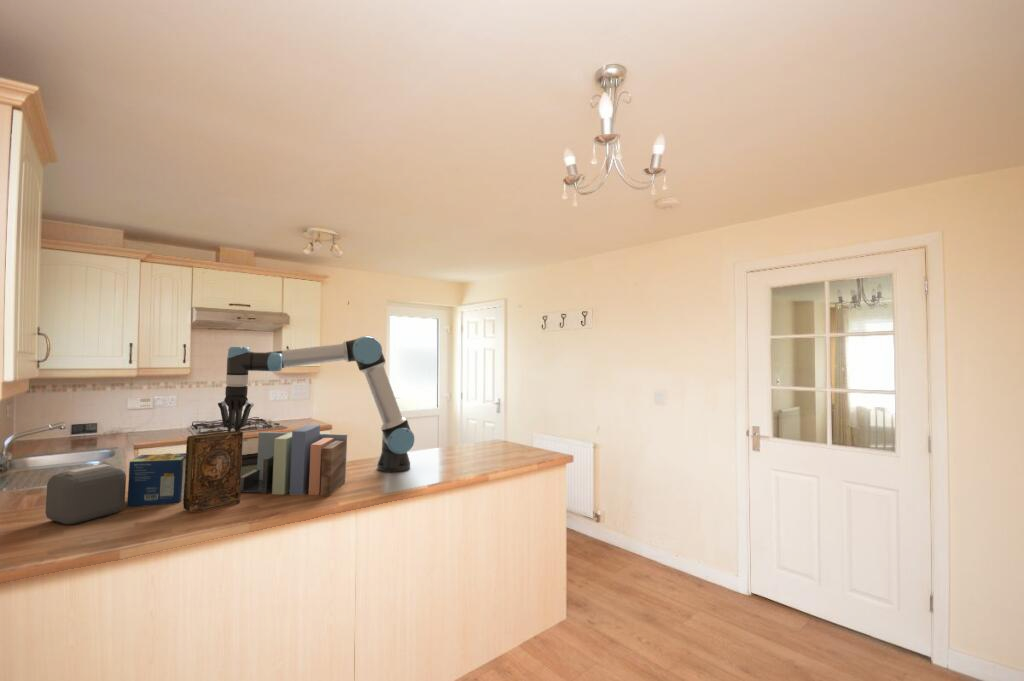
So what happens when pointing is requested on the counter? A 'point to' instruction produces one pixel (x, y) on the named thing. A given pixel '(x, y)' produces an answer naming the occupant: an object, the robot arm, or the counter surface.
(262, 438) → the back rail
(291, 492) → the navy book
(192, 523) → the counter surface
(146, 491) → the protein box
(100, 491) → the grey rounded-edge box
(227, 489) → the book
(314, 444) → the terracotta book
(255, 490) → the bookend
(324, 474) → the end stop
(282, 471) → the green book
